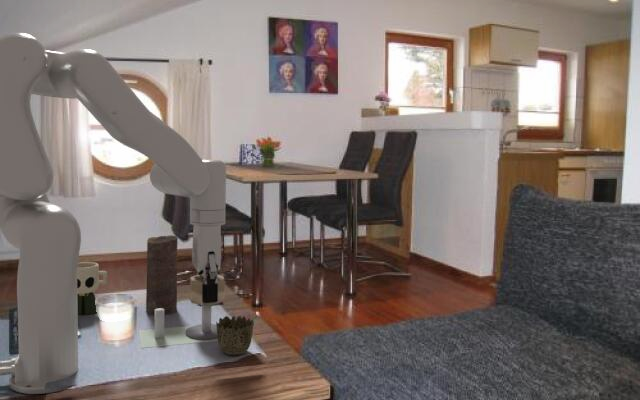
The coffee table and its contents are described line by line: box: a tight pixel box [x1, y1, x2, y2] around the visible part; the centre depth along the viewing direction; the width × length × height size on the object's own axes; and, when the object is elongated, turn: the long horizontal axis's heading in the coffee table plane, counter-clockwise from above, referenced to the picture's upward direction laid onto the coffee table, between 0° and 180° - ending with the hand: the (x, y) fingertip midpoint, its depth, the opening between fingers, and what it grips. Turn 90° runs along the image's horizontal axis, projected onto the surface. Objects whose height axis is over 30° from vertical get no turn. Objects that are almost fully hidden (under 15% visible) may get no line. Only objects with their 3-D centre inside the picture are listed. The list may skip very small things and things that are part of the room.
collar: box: [189, 274, 226, 306], centre depth 121 cm, size 7×7×5 cm
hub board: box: [138, 305, 218, 349], centre depth 120 cm, size 18×11×8 cm, turn 111°
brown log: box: [145, 234, 178, 316], centre depth 136 cm, size 8×7×20 cm
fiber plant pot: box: [215, 315, 255, 357], centre depth 110 cm, size 8×7×8 cm
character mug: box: [77, 261, 108, 317], centre depth 133 cm, size 11×7×13 cm, turn 113°
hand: (206, 296), depth 121 cm, fingers closed on collar, 7 cm apart
